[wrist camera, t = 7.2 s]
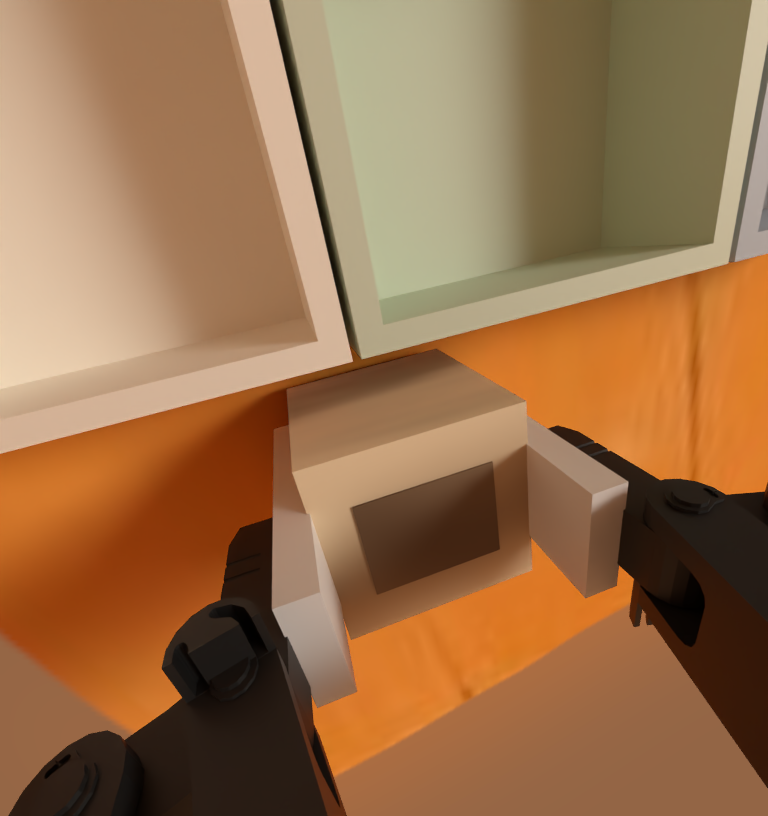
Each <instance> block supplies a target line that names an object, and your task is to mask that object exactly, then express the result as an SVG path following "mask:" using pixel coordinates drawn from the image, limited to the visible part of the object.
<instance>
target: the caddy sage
mask: <svg viewBox="0 0 768 816" xmlns="http://www.w3.org/2000/svg"><path fill="white" fill-rule="evenodd" d="M269 2H270V6H271V10H272V15H273V19H274V23H275V27H276V32H277V36H278V40H279V45H280V49H281V53H282V58H283V62H284V66H285V71H286V75H287V79H288V83H289V88H290V92H291V96H292V101H293V105H294V109H295V114H296V118H297V122H298V127H299V131H300V135H301V140H302V144H303V148H304V152H305V157H306V161H307V165H308V170H309V174H310V178H311V183H312V187H313V191H314V196H315V200H316V204H317V209H318V213H319V217H320V221H321V226H322V230H323V234H324V239H325V243H326V247H327V252H328V256H329V260H330V265H331V269H332V273H333V278H334V282H335V286H336V290H337V295H338V299H339V303H340V308H341V312H342V316H343V321H344V325H345V329H346V334H347V338H348V342H349V345H350V346H351V347H352V348H353V349H354V351H355V352H356V353H357V354H358V355H359V356H360V358H361V359H365V358H369V357H373V356H377V355H380V354H384V353H388V352H392V351H396V350H400V349H403V348H407V347H411V346H415V345H419V344H423V343H426V342H430V341H434V340H438V339H442V338H446V337H449V336H453V335H457V334H461V333H465V332H469V331H472V330H476V329H480V328H484V327H488V326H492V325H495V324H499V323H503V322H507V321H511V320H515V319H518V318H522V317H526V316H530V315H534V314H538V313H541V312H545V311H549V310H553V309H557V308H561V307H564V306H568V305H572V304H576V303H580V302H583V301H587V300H591V299H595V298H599V297H603V296H606V295H610V294H614V293H618V292H622V291H626V290H629V289H633V288H637V287H641V286H645V285H649V284H652V283H656V282H660V281H664V280H668V279H672V278H675V277H679V276H683V275H687V274H691V273H695V272H698V271H702V270H706V269H710V268H714V267H718V266H721V265H725V264H728V262H729V257H730V251H731V245H732V240H733V234H734V229H735V223H736V217H737V212H738V206H739V201H740V195H741V189H742V184H743V178H744V173H745V167H746V161H747V156H748V150H749V145H750V139H751V133H752V128H753V122H754V117H755V111H756V105H757V100H758V94H759V89H760V83H761V77H762V72H763V66H764V61H765V55H766V49H767V44H768V0H269Z"/></svg>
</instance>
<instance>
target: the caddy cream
mask: <svg viewBox="0 0 768 816" xmlns="http://www.w3.org/2000/svg"><path fill="white" fill-rule="evenodd" d="M350 362H353V359H352V355H351V351H350V347H349V342H348V338H347V334H346V329H345V325H344V321H343V316H342V312H341V308H340V303H339V299H338V295H337V290H336V286H335V282H334V278H333V273H332V269H331V265H330V260H329V256H328V252H327V247H326V243H325V239H324V234H323V230H322V226H321V221H320V217H319V213H318V209H317V204H316V200H315V196H314V191H313V187H312V183H311V178H310V174H309V170H308V165H307V161H306V157H305V152H304V148H303V144H302V140H301V135H300V131H299V127H298V122H297V118H296V114H295V109H294V105H293V101H292V96H291V92H290V88H289V83H288V79H287V75H286V71H285V66H284V62H283V58H282V53H281V49H280V45H279V40H278V36H277V32H276V27H275V23H274V19H273V15H272V10H271V6H270V2H269V0H0V454H1V453H5V452H9V451H13V450H17V449H20V448H24V447H28V446H32V445H36V444H40V443H43V442H47V441H51V440H55V439H59V438H62V437H66V436H70V435H74V434H78V433H82V432H85V431H89V430H93V429H97V428H101V427H105V426H108V425H112V424H116V423H120V422H124V421H128V420H131V419H135V418H139V417H143V416H147V415H151V414H154V413H158V412H162V411H166V410H170V409H174V408H177V407H181V406H185V405H189V404H193V403H197V402H200V401H204V400H208V399H212V398H216V397H220V396H223V395H227V394H231V393H235V392H239V391H243V390H246V389H250V388H254V387H258V386H262V385H266V384H269V383H273V382H277V381H281V380H285V379H289V378H292V377H296V376H300V375H304V374H308V373H312V372H315V371H319V370H323V369H327V368H331V367H334V366H338V365H342V364H346V363H350Z"/></svg>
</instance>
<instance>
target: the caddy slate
mask: <svg viewBox="0 0 768 816" xmlns="http://www.w3.org/2000/svg"><path fill="white" fill-rule="evenodd" d="M767 253H768V44H767V49H766V55H765V61H764V66H763V72H762V77H761V83H760V89H759V94H758V100H757V105H756V111H755V117H754V122H753V128H752V133H751V139H750V145H749V150H748V156H747V161H746V167H745V173H744V178H743V184H742V189H741V195H740V201H739V206H738V212H737V217H736V223H735V229H734V234H733V240H732V245H731V251H730V257H729V262H737V261H741V260H744V259H748V258H752V257H756V256H760V255H764V254H767Z"/></svg>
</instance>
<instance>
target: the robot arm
mask: <svg viewBox="0 0 768 816" xmlns="http://www.w3.org/2000/svg"><path fill="white" fill-rule="evenodd" d="M527 436H528V444H526V446H527V477H528V509H529V536H530V537H531V538H532V539H533V540H534V541H535V542H536V543H537V544H538V546H539V547H540V548H541V549H542V550H543V551H544V552H545V553H546V555H547V556H548V557H549V558H550V559H551V560H552V561H553V562H554V563H555V565H556V566H557V567H558V568H559V569H560V570H561V571H562V572H563V574H564V575H565V576H566V577H567V578H568V579H569V580H570V581H571V582H572V584H573V585H574V586H575V587H576V588H577V589H578V590H579V591H580V593H581V594H582V595H583V596H584V597H585V598H588V597H590V596H592V595H595V594H597V593H600V592H602V591H605V590H607V589H610V588H612V587H615V586H617V577H618V569H619V565H620V566H621V567H622V568H623V569H624V570H625V571H626V572H627V573H628V574H629V575H630V576H632V577H633V578H634V583H633V590H632V597H631V604H630V615H629V617H630V619H631V621H632V624H633V626H634V627H637V626H639V625H640V619H641V613H642V609H643V611H644V612H645V613H646V623H647V625H652V624H653V625H654V626H655V628H656V629H657V631H658V632H659V633H660V635H661V636H662V638H663V639H664V640H665V642H666V643H667V645H668V646H669V648H670V649H671V650H672V652H673V653H674V655H675V656H676V658H677V659H678V661H679V662H680V663H681V665H682V666H683V668H684V669H685V670H686V672H687V673H688V675H689V676H690V678H691V679H692V681H693V682H694V683H695V685H696V686H697V688H698V689H699V691H700V692H701V693H702V695H703V696H704V698H705V699H706V700H707V702H708V703H709V705H710V706H711V708H712V709H713V710H714V712H715V713H716V715H717V716H718V718H719V719H720V721H721V722H722V724H723V725H724V726H725V728H726V729H727V731H728V732H729V733H730V735H731V736H732V738H733V739H734V741H735V742H736V744H737V745H738V747H739V748H740V749H741V751H742V752H743V754H744V755H745V757H746V758H747V759H748V761H749V762H750V764H751V765H752V767H753V768H754V769H755V770H756V772H757V774H758V775H759V777H760V778H761V779H762V781H763V782H764V784H765V785H766V787H767V788H768V483H767V487H766V490H765V492H756V493H743V494H731V495H725V494H724V493H722V492H720V491H718V490H717V489H715V488H713V487H711V486H708V485H705V484H702V483H699V482H696V481H689V480H683V479H664V480H661V481H660V480H659V479H657V478H655V477H654V476H652V475H650V474H649V473H647V472H645V471H644V470H642V469H640V468H639V467H637V466H635V465H634V464H632V463H630V462H628V461H627V460H625V459H623V458H622V457H620V456H618V455H617V454H615V453H613V452H612V451H608V450H607V448H605V447H603V446H602V445H600V444H598V443H594V441H593V440H591V439H590V438H588V437H586V436H585V435H583V434H581V433H580V432H578V431H575V430H571V429H568V428H565V427H561V426H555V427H552V428H549V429H547V428H545V427H544V426H542V425H541V424H539V423H538V422H536V421H535V420H533V419H531V418H530V417H528V416H527ZM226 565H227V568H226V569H225V575H224V584H223V588H222V594H221V600H220V601H217V602H215V603H212V604H209V605H207V606H206V607H205V608H203V609H202V610H200V611H199V612H197V613H196V614H194V615H193V616H191V617H190V618H189V619H188V621H187V622H186V623H185V624H184V625H183V626H182V627H181V628H180V629H179V630H178V631H177V632H176V634H175V635H174V637H173V639H172V641H171V642H170V644H169V646H168V647H167V649H166V651H165V656H164V660H163V665H162V670H163V671H164V673H165V674H166V675H167V677H168V678H169V679H170V681H171V682H172V684H173V685H174V686H175V688H176V689H177V691H178V692H179V693H180V695H181V696H182V697H183V698H182V699H180V700H179V701H178V702H177V703H176V704H174V705H173V706H172V707H171V708H169V709H168V710H167V711H165V712H164V713H163V714H161V715H160V716H158V717H157V718H155V719H154V720H153V721H151V722H150V723H148V724H147V725H146V726H144V727H143V728H141V729H140V730H138V731H137V732H136V733H134V734H133V735H131V736H130V737H128V738H127V739H126V740H124V739H122V737H121V736H119V735H117V734H115V733H112V732H110V731H102V732H97V733H92V734H88V735H87V736H85V737H83V738H81V739H79V740H78V741H76V742H74V743H72V744H70V745H69V746H67V747H66V748H65V749H64V750H62V751H61V752H60V753H59V754H58V755H57V756H55V757H54V758H53V759H52V760H51V761H50V762H48V763H47V764H46V765H45V766H44V767H43V768H42V769H41V771H40V772H39V773H38V774H37V775H36V777H35V778H34V779H33V780H32V781H31V782H30V784H29V785H28V786H27V787H26V788H25V790H24V791H23V792H22V794H21V795H20V797H19V799H18V801H17V802H16V804H15V806H14V808H13V809H12V811H11V812H10V814H9V816H347V815H346V812H345V809H344V807H343V803H342V801H341V798H340V795H339V792H338V789H337V786H336V783H335V780H334V777H333V774H332V771H331V768H330V765H329V762H328V759H327V756H326V753H325V751H324V748H323V745H322V742H321V739H320V736H319V734H318V732H317V730H316V728H315V726H314V723H313V710H312V698H311V695H312V697H313V699H314V702H315V704H316V706H317V708H318V707H321V706H323V705H326V704H328V703H331V702H333V701H336V700H338V699H340V698H343V697H345V696H348V695H350V694H353V693H355V692H357V689H356V683H355V678H354V672H353V667H352V662H351V656H350V651H349V645H348V640H347V635H346V629H345V624H344V619H343V613H342V608H341V603H340V600H339V597H338V594H337V591H336V588H335V586H334V583H333V580H332V577H331V574H330V571H329V568H328V565H327V562H326V559H325V556H324V553H323V550H322V548H321V545H320V542H319V539H318V536H317V533H316V530H315V527H314V524H313V521H312V518H311V515H310V513H309V514H307V513H306V510H305V508H304V505H303V502H302V499H301V496H300V493H299V491H298V488H297V485H296V482H295V479H294V476H293V474H292V463H291V448H290V433H289V425H286V426H283V427H279V428H276V429H274V450H273V518H270V519H267V520H264V521H261V522H257V523H254V524H251V525H248V526H245V527H242V528H240V529H239V531H238V533H237V534H236V536H235V537H234V539H233V541H232V542H231V544H230V545H229V550H228V556H227V562H226Z"/></svg>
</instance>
